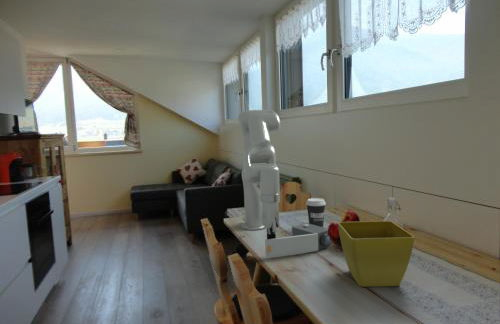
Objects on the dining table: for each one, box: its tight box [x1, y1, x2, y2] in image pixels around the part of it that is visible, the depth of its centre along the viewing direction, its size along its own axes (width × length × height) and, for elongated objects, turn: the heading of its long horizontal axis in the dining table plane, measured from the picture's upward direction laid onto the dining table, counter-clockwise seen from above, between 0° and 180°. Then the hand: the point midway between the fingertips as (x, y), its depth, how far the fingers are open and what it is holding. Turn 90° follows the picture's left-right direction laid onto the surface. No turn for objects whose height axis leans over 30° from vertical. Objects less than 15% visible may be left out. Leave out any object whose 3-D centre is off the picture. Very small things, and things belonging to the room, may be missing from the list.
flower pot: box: [337, 220, 415, 288], centre depth 110 cm, size 19×19×17 cm
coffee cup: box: [305, 197, 327, 227], centre depth 165 cm, size 10×10×15 cm
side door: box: [264, 233, 319, 259], centre depth 133 cm, size 22×2×7 cm, turn 105°
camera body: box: [291, 222, 332, 251], centre depth 145 cm, size 16×9×8 cm, turn 38°
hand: (271, 243), depth 133 cm, fingers closed
